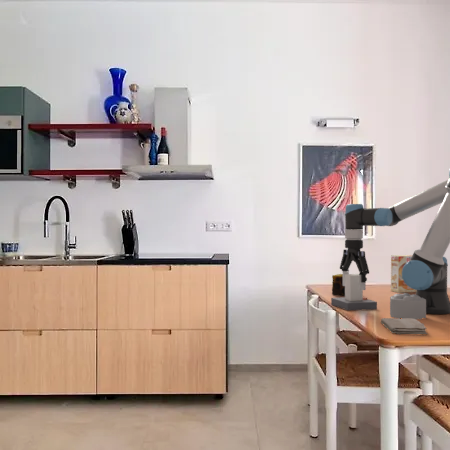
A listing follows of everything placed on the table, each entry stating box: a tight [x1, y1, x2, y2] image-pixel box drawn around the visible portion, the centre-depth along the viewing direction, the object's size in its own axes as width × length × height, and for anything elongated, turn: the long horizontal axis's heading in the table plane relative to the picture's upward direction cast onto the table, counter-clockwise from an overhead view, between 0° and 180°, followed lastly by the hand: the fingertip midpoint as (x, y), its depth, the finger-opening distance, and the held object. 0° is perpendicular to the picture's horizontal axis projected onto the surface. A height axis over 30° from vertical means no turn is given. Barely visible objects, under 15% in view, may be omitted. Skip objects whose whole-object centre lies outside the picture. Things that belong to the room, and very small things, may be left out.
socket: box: [330, 296, 378, 311], centre depth 197 cm, size 14×14×4 cm
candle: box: [331, 273, 345, 297], centre depth 232 cm, size 10×10×10 cm
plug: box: [344, 273, 368, 301], centre depth 198 cm, size 9×4×14 cm, turn 105°
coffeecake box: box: [390, 254, 417, 294], centre depth 244 cm, size 15×7×20 cm, turn 105°
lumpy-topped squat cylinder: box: [389, 292, 427, 320], centre depth 177 cm, size 10×13×9 cm
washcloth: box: [380, 317, 428, 335], centre depth 156 cm, size 12×18×3 cm, turn 174°
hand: (353, 287), depth 197 cm, fingers open, 13 cm apart
